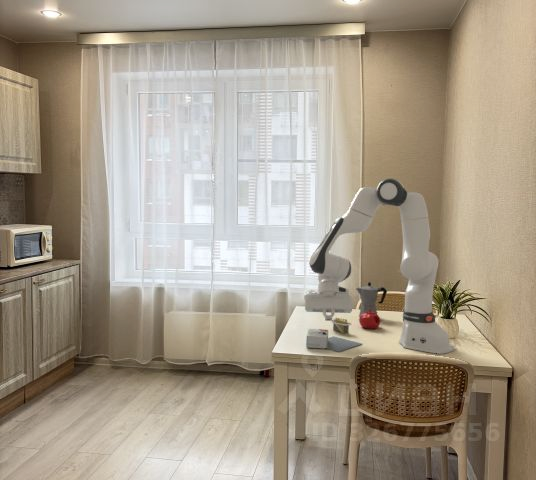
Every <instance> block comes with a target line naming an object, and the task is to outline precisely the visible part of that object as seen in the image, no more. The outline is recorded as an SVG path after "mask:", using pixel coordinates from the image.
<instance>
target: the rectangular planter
mask: <svg viewBox="0 0 536 480" xmlns="http://www.w3.org/2000/svg"><path fill="white" fill-rule="evenodd" d="M333 318H334V319H332V321H330V322H331V324H333V325H332V326H333V327H332V328H333V329H332V331H334V332H338V333H339V332H340V333H342V334H349V330H350V329H349V327H350V326H351V325H352V322H348V319H345V318H339V317H333Z"/></svg>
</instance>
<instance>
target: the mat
mask: <svg viewBox="0 0 536 480" xmlns="http://www.w3.org/2000/svg"><path fill="white" fill-rule="evenodd" d="M359 346H363V343H361V342H357V341H353V340H350V339H345V338H342V337H337V336H335V335H334V336H331V337H328V344H327V348H326V350H329V349H330V350H329V351H332V350H333V351H332V352H336V353H341V351H342V352H344V351H346V350H347V351H348V350H349V349H353V348H355V347H356V348H357V347H359Z"/></svg>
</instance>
